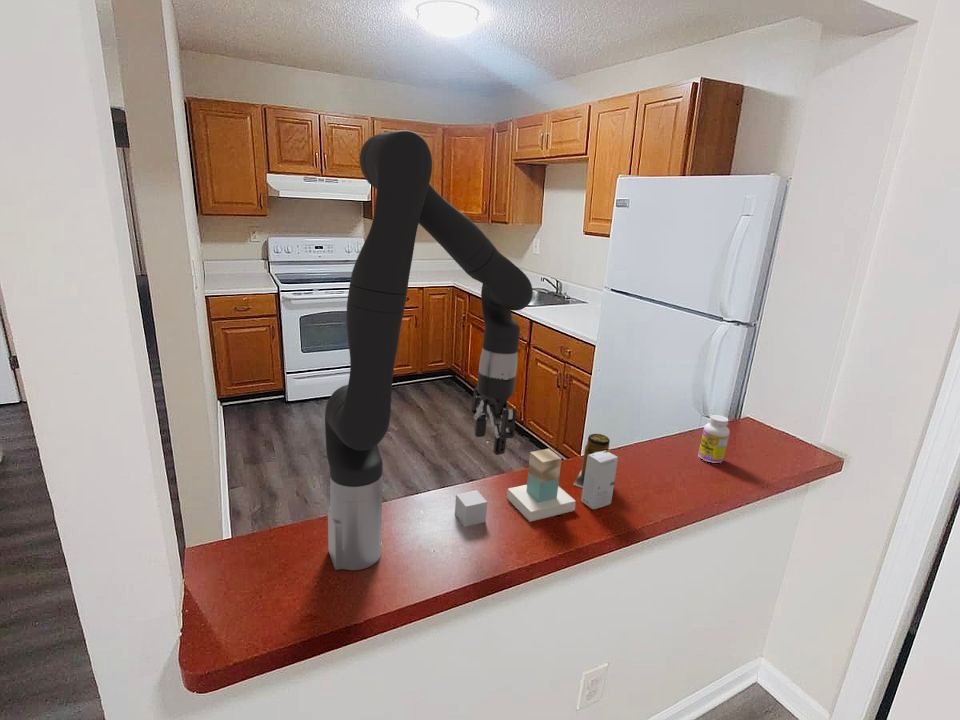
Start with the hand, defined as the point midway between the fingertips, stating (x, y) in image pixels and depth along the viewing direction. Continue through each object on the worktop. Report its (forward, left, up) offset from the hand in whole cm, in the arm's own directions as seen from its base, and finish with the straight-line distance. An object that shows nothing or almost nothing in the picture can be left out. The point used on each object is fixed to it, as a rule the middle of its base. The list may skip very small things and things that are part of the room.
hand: (488, 444), depth 110 cm
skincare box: (+27, -5, -17) cm, 33 cm away
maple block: (+14, -1, -10) cm, 17 cm away
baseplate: (+14, -1, -17) cm, 22 cm away
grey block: (-3, 0, -17) cm, 17 cm away
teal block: (+14, -1, -15) cm, 21 cm away
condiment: (+32, +3, -17) cm, 37 cm away
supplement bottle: (+73, +1, -17) cm, 76 cm away
